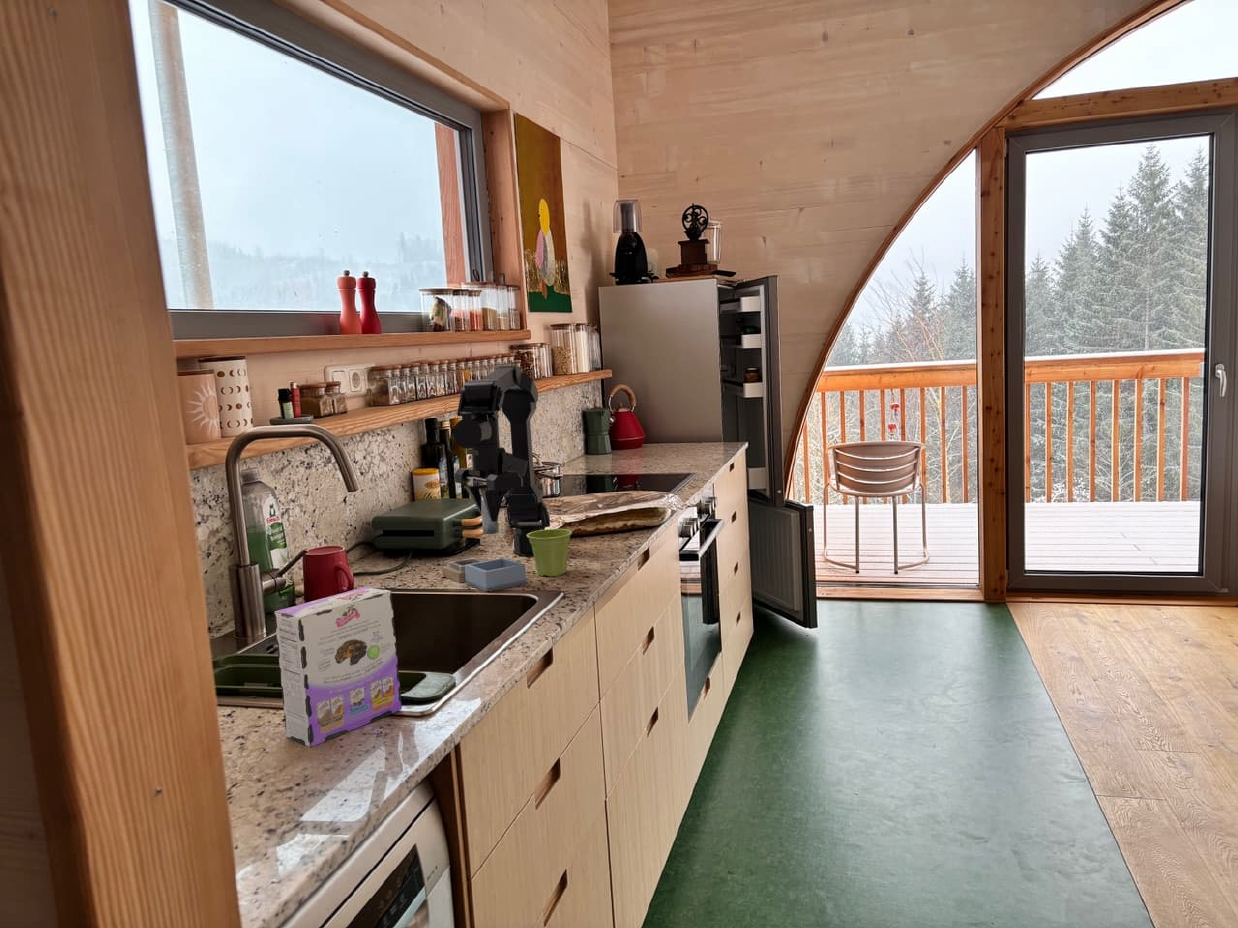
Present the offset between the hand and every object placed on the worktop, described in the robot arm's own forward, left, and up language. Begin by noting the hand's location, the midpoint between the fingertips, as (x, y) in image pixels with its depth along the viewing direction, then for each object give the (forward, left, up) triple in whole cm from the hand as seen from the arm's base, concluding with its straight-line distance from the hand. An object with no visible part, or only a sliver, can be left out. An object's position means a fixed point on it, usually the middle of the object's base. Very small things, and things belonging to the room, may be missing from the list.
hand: (490, 520), depth 186 cm
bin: (0, 0, -13) cm, 13 cm away
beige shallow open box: (+1, -10, -13) cm, 17 cm away
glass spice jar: (0, 0, -3) cm, 2 cm away
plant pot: (-13, +1, -13) cm, 19 cm away
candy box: (+49, +51, -13) cm, 72 cm away
